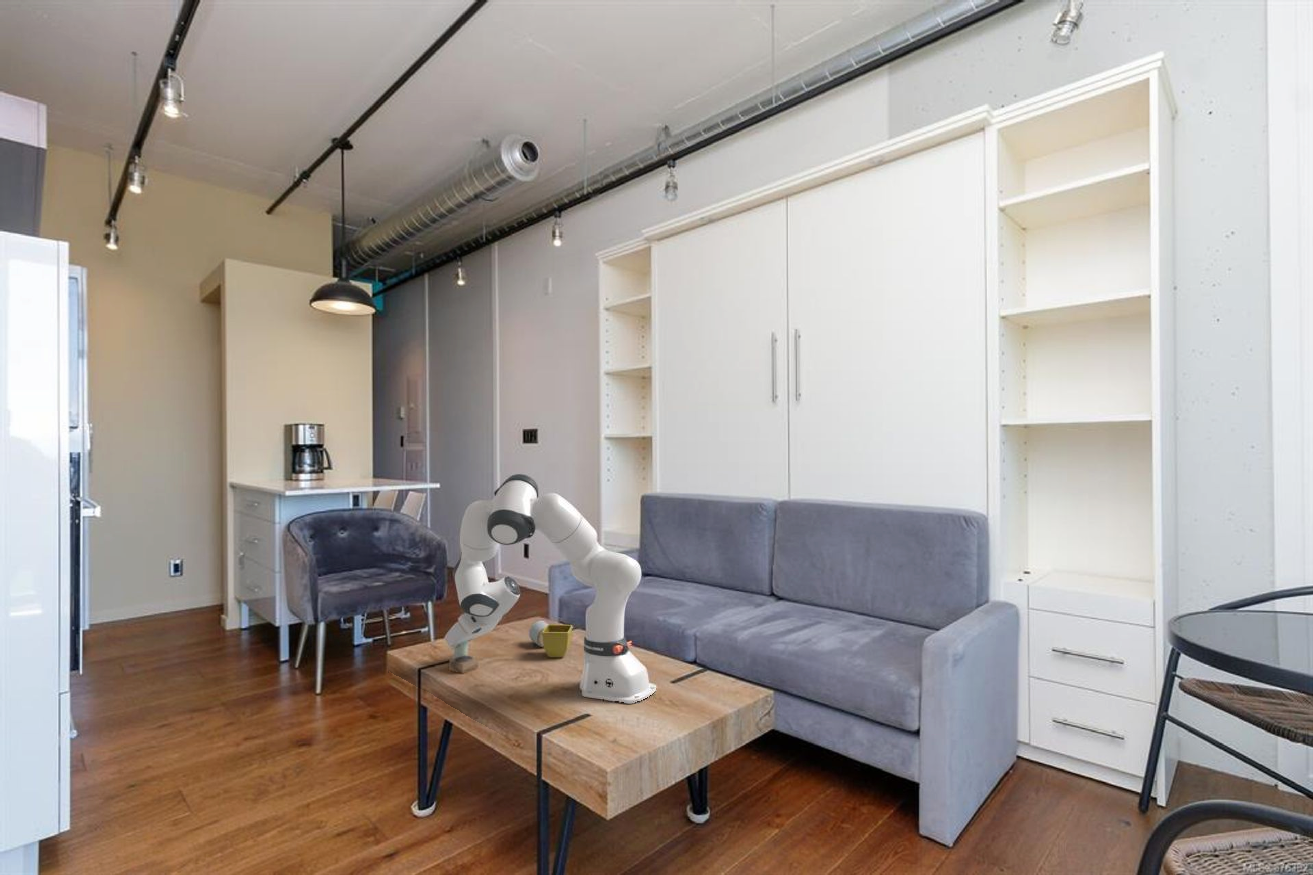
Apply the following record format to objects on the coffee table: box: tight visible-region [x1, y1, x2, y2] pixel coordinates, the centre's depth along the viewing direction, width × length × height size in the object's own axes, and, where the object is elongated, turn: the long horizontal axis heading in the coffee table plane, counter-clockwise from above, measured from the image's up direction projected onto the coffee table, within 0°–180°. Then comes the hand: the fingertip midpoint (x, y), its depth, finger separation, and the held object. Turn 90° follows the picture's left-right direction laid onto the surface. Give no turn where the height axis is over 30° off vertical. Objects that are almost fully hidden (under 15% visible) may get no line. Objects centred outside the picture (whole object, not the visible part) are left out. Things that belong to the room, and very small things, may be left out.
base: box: [448, 655, 479, 674], centre depth 200 cm, size 6×6×3 cm
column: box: [453, 640, 469, 659], centre depth 207 cm, size 4×4×11 cm
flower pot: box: [542, 624, 573, 658], centre depth 214 cm, size 9×9×9 cm
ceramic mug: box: [528, 620, 549, 648], centre depth 226 cm, size 11×8×8 cm
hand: (459, 644), depth 208 cm, fingers closed on column, 4 cm apart
